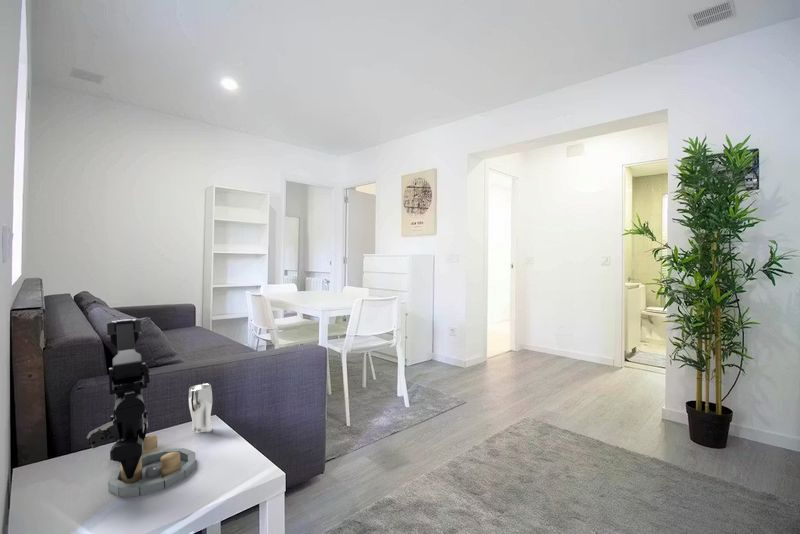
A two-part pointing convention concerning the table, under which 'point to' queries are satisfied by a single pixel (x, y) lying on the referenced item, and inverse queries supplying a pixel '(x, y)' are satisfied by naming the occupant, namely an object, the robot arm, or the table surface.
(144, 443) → the bead
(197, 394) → the beer glass
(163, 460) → the tan short rounded cylinder
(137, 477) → the bead
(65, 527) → the table surface
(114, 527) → the table surface
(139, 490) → the tray
